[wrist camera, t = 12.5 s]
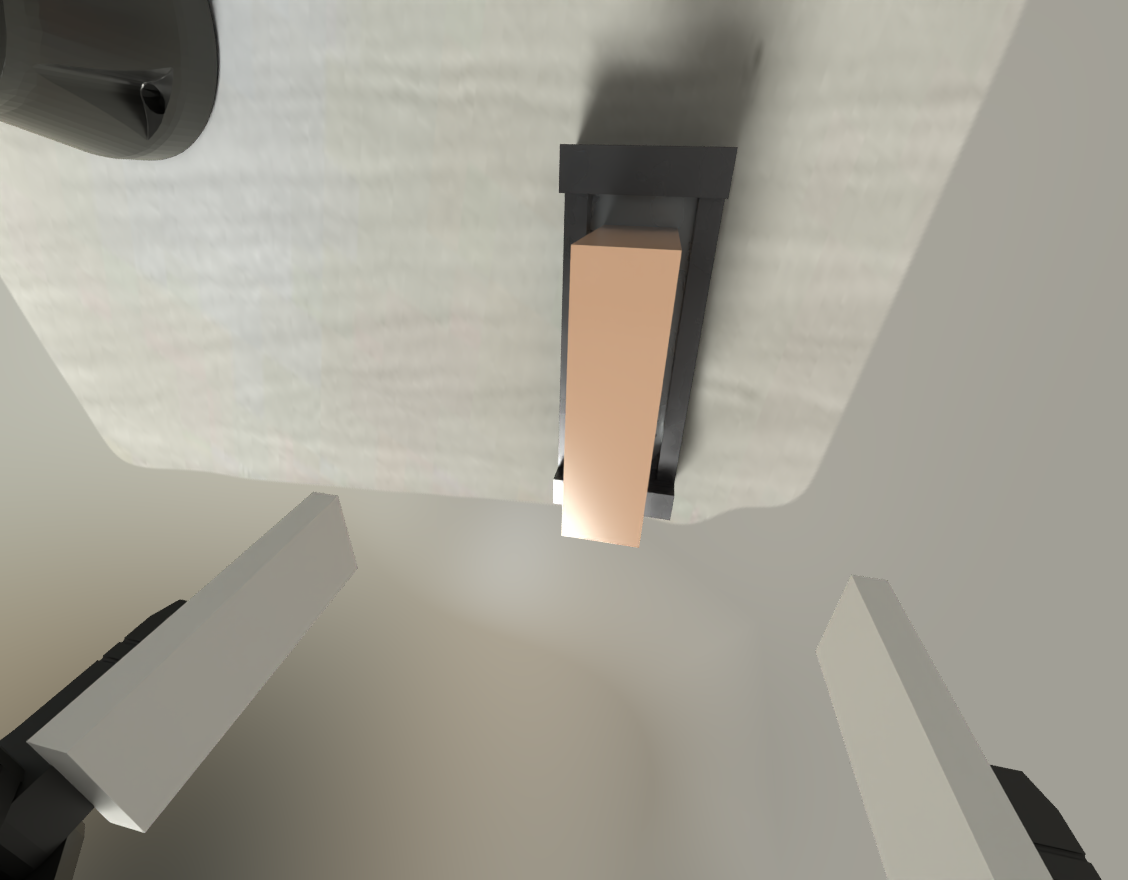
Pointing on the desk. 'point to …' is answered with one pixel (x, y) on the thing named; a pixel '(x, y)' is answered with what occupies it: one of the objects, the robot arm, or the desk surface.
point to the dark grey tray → (693, 205)
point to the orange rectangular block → (615, 376)
